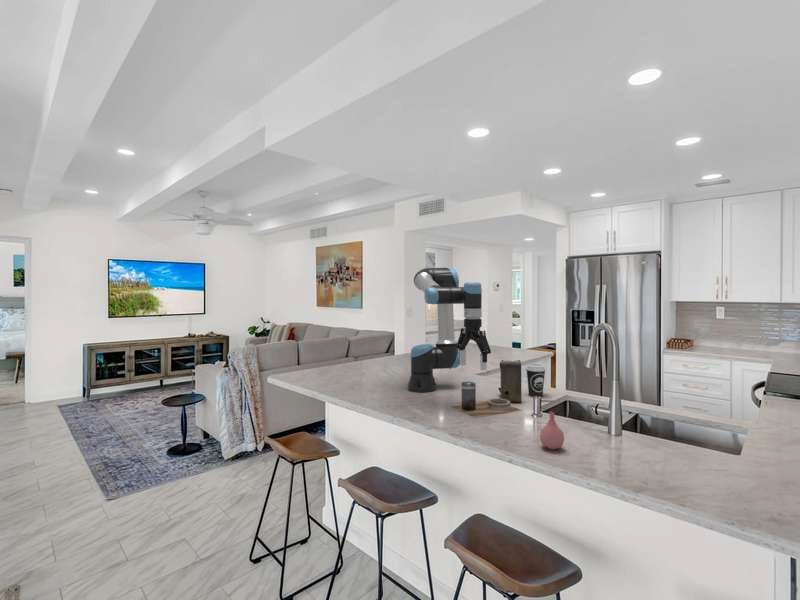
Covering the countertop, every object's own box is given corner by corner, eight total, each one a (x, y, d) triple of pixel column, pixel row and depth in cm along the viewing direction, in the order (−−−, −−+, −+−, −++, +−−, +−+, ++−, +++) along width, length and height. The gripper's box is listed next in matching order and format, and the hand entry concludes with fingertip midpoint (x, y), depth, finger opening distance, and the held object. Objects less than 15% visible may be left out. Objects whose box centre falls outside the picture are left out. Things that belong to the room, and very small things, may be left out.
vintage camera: (516, 396, 208) (515, 356, 208) (522, 403, 193) (521, 360, 193) (496, 396, 209) (495, 356, 209) (501, 403, 194) (500, 360, 194)
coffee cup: (547, 394, 208) (548, 364, 208) (543, 399, 200) (543, 368, 200) (528, 392, 213) (528, 363, 213) (523, 396, 205) (523, 366, 205)
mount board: (451, 409, 184) (451, 400, 184) (495, 403, 194) (495, 393, 194) (475, 421, 168) (475, 411, 167) (522, 413, 178) (522, 403, 178)
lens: (458, 407, 182) (458, 382, 182) (470, 405, 185) (470, 380, 184) (466, 411, 176) (466, 385, 176) (478, 409, 179) (478, 383, 179)
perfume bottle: (541, 442, 145) (541, 408, 144) (565, 446, 142) (565, 410, 141) (538, 450, 138) (538, 414, 137) (563, 454, 135) (563, 417, 134)
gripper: (448, 316, 189) (448, 363, 189) (485, 320, 167) (485, 373, 168) (461, 316, 192) (461, 362, 193) (499, 319, 171) (499, 371, 171)
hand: (472, 367), depth 180 cm, fingers open, 13 cm apart
